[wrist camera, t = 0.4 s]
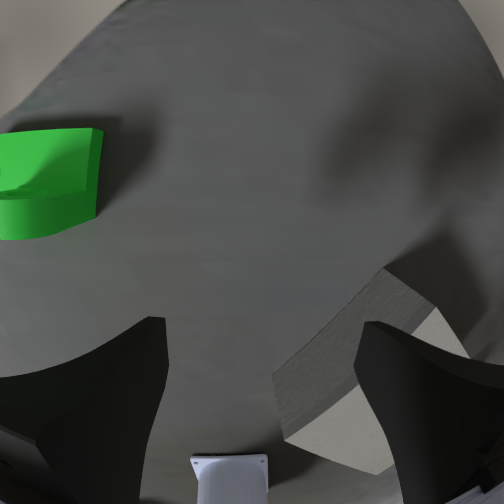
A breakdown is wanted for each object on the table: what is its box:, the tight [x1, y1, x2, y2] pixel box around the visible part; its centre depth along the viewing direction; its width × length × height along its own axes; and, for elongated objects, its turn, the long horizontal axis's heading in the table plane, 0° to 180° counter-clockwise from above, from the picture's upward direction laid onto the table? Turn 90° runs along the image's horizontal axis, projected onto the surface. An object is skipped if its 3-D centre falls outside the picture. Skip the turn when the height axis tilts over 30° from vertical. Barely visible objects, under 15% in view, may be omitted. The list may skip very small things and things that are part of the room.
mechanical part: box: [0, 128, 104, 240], centre depth 13 cm, size 12×6×8 cm, turn 82°
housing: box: [272, 268, 470, 475], centre depth 19 cm, size 12×12×7 cm
